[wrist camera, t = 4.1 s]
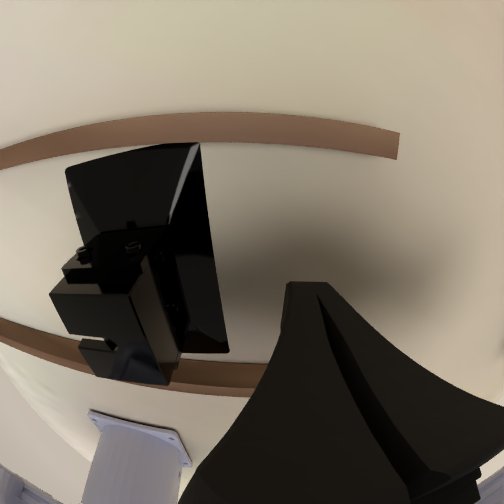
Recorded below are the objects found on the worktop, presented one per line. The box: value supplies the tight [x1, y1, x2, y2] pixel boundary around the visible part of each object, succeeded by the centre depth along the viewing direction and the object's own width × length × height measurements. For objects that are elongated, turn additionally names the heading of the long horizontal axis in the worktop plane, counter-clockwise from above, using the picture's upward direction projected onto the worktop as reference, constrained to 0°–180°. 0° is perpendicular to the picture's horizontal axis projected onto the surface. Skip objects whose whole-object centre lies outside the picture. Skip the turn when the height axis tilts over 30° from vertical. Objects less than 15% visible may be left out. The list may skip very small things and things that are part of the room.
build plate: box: [49, 142, 230, 386], centre depth 9 cm, size 12×7×5 cm, turn 4°
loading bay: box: [0, 112, 400, 397], centre depth 8 cm, size 12×29×5 cm, turn 88°
